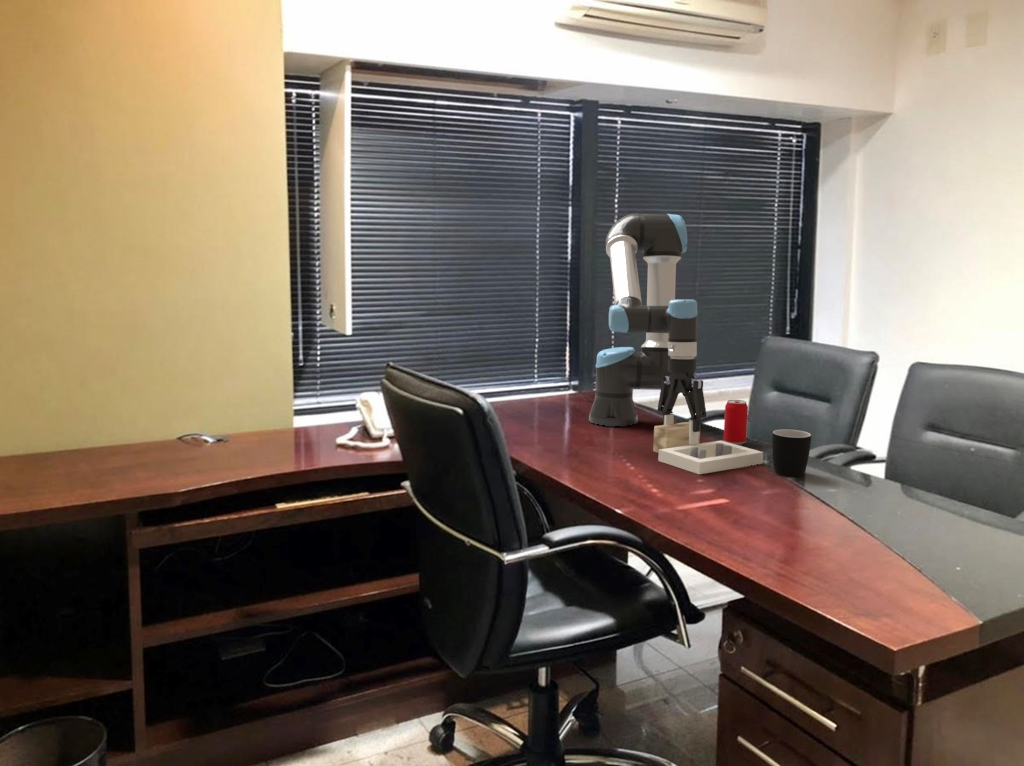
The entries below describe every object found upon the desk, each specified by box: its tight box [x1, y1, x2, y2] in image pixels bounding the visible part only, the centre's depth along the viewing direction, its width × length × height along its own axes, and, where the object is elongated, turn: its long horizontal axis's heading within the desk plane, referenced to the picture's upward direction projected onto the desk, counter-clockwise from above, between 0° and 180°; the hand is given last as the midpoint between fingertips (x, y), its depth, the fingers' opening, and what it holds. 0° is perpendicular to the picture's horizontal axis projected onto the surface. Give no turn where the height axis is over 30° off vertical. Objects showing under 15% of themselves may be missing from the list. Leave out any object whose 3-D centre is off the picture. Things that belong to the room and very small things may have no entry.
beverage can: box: [723, 399, 749, 446], centre depth 240 cm, size 6×6×12 cm
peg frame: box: [657, 440, 764, 475], centre depth 219 cm, size 15×22×4 cm
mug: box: [771, 428, 812, 478], centre depth 210 cm, size 12×9×10 cm
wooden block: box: [652, 421, 701, 454], centre depth 231 cm, size 5×12×7 cm, turn 121°
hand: (680, 440), depth 229 cm, fingers open, 9 cm apart
